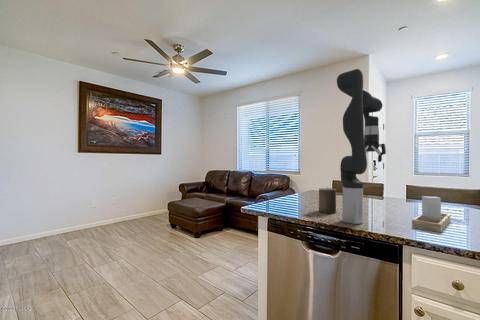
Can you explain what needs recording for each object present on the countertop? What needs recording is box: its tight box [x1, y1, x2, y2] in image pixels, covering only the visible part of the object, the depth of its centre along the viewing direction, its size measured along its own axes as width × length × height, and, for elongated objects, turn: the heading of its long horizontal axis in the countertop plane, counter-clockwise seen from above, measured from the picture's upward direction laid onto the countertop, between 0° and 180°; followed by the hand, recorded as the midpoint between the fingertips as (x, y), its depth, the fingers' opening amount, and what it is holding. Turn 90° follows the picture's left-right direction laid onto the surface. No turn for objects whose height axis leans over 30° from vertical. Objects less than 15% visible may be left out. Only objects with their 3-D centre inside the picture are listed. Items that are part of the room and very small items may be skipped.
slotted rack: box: [411, 212, 451, 233], centre depth 109 cm, size 27×10×4 cm, turn 130°
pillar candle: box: [318, 186, 337, 214], centre depth 134 cm, size 10×10×15 cm
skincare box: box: [421, 195, 442, 220], centre depth 109 cm, size 6×4×12 cm
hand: (371, 161), depth 133 cm, fingers open, 8 cm apart
